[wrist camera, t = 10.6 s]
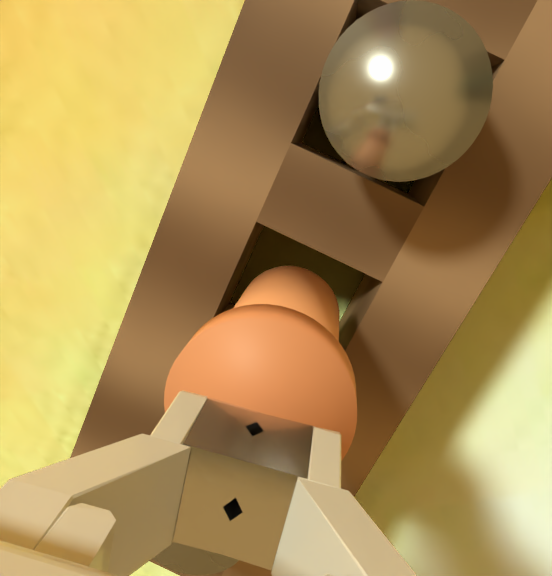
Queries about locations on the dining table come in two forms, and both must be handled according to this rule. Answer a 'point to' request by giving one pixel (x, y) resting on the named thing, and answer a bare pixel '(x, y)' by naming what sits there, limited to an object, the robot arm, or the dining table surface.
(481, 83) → the plunger near
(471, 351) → the dining table surface
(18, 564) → the robot arm
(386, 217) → the walnut block
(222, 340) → the plunger mid
